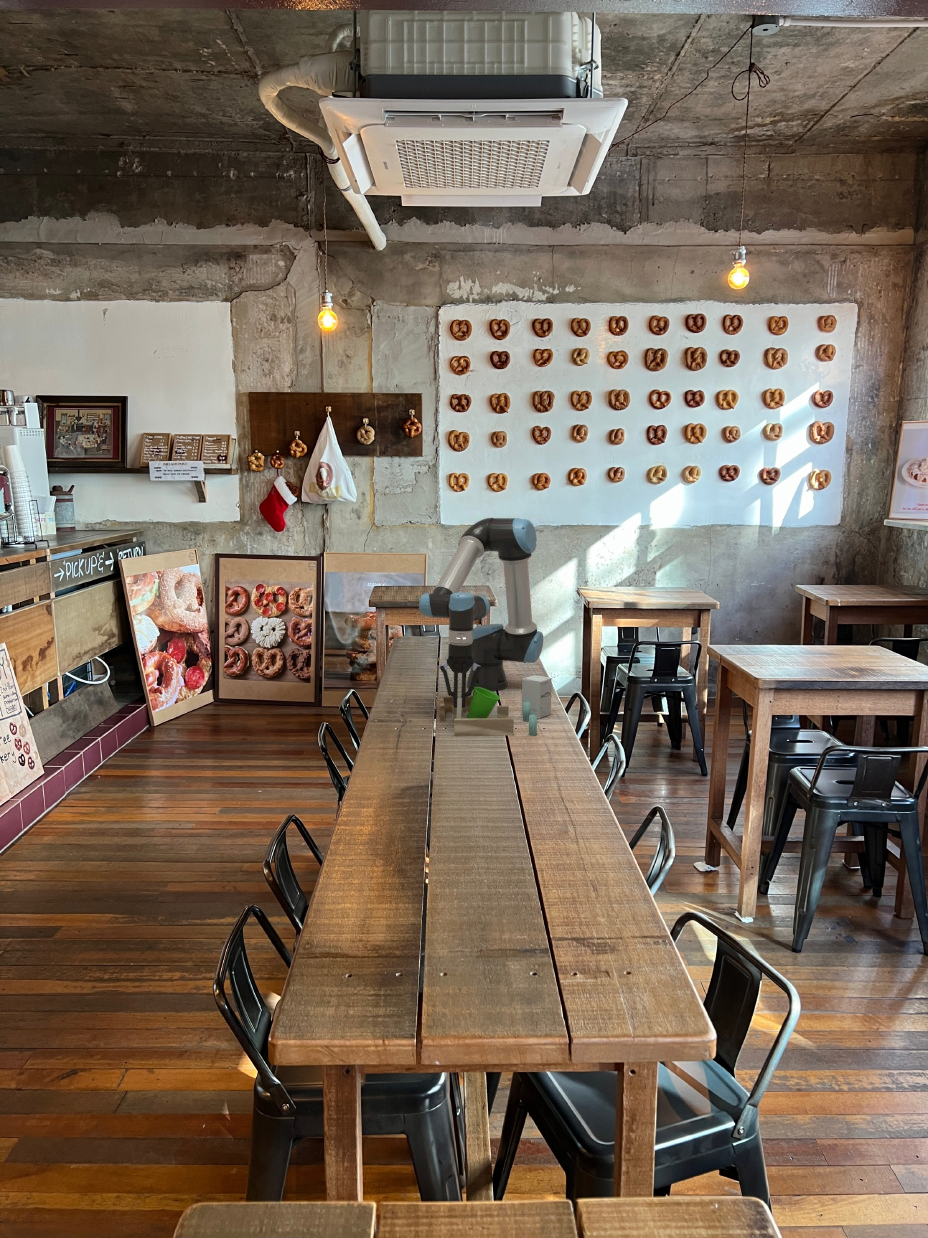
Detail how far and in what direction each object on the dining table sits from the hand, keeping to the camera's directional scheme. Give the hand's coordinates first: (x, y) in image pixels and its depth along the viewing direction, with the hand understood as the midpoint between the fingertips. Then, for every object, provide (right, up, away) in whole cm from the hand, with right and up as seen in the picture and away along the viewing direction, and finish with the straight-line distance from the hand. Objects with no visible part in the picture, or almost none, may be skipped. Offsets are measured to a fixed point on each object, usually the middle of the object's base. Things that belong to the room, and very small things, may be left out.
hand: (458, 717), depth 271 cm
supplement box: (+25, -1, +16) cm, 30 cm away
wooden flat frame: (+5, -2, +8) cm, 9 cm away
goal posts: (+22, -3, +2) cm, 23 cm away
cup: (+5, -2, +1) cm, 5 cm away
